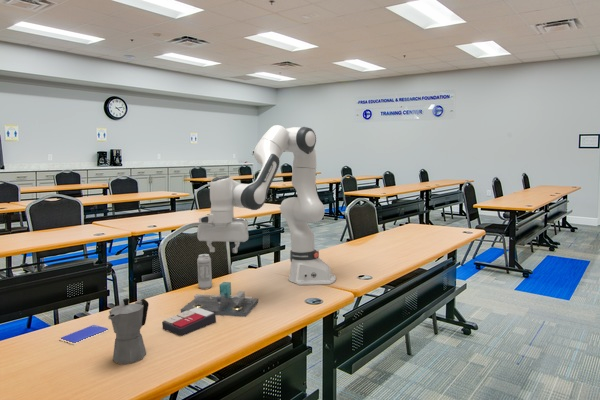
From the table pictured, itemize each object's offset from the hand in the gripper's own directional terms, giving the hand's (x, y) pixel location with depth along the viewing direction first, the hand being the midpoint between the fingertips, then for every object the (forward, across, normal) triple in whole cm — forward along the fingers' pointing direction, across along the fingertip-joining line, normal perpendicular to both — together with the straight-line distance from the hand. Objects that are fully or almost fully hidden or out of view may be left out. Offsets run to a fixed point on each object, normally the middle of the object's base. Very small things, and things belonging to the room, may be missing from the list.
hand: (223, 252), depth 170 cm
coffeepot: (+22, +12, +46) cm, 52 cm away
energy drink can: (+22, +18, -21) cm, 35 cm away
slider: (+20, 0, +3) cm, 20 cm away
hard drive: (+22, +37, +35) cm, 55 cm away
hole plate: (+21, +1, +3) cm, 22 cm away
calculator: (+22, +5, +22) cm, 31 cm away
